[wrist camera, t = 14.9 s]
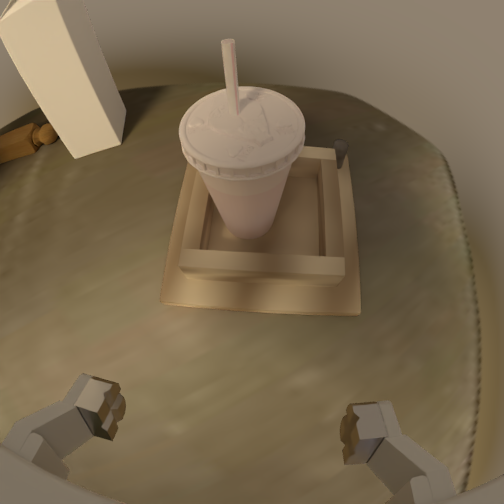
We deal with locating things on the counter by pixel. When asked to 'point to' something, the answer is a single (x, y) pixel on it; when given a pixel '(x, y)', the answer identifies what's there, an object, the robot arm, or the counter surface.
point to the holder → (271, 246)
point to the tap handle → (25, 141)
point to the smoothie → (243, 148)
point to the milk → (65, 71)
